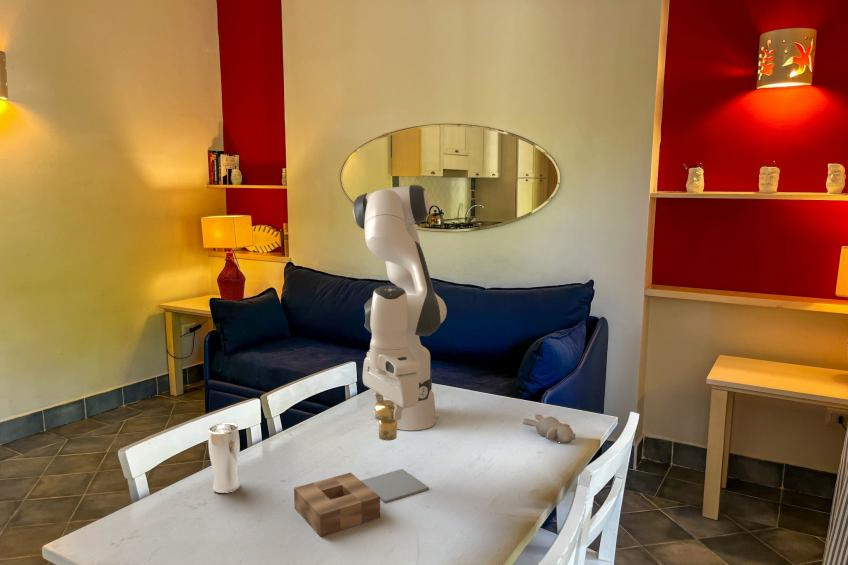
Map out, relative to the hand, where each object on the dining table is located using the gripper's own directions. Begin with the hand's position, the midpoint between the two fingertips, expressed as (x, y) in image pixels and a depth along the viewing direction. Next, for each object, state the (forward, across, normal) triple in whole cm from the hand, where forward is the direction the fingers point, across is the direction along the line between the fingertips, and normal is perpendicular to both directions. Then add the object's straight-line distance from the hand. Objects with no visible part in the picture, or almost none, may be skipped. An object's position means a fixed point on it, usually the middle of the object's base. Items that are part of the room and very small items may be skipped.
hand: (388, 414), depth 146 cm
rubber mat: (+18, 0, +2) cm, 18 cm away
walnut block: (+18, +4, -15) cm, 24 cm away
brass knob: (+6, 0, 0) cm, 6 cm away
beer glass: (+19, -20, -32) cm, 43 cm away
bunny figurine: (+18, -2, +55) cm, 58 cm away
